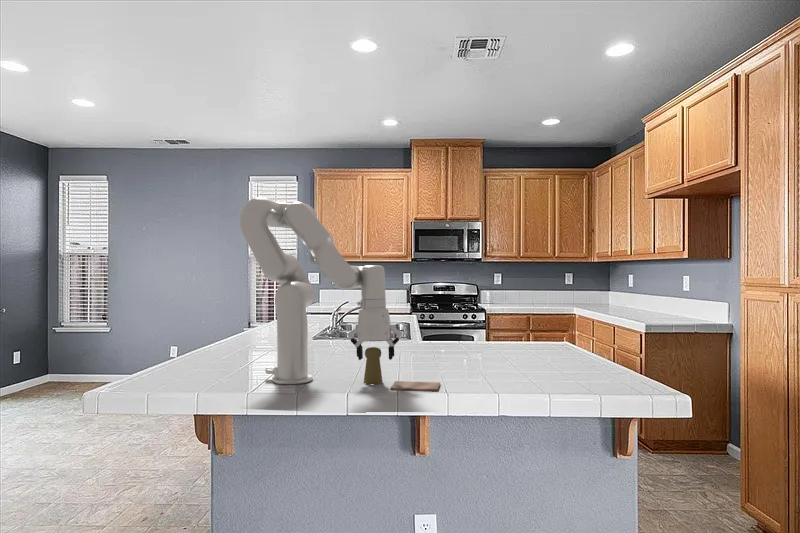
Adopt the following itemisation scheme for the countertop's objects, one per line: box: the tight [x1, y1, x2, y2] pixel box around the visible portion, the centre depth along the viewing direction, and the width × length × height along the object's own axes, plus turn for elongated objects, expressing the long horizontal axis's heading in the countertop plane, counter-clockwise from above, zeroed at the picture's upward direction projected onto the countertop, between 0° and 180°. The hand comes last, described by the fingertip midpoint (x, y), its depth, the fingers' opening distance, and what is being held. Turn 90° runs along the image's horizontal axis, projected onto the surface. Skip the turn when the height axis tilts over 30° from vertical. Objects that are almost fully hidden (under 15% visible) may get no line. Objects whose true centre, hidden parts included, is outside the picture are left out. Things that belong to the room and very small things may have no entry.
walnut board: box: [390, 380, 441, 392], centre depth 159 cm, size 14×9×1 cm, turn 82°
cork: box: [363, 346, 384, 385], centre depth 166 cm, size 6×6×11 cm
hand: (375, 359), depth 166 cm, fingers open, 9 cm apart
